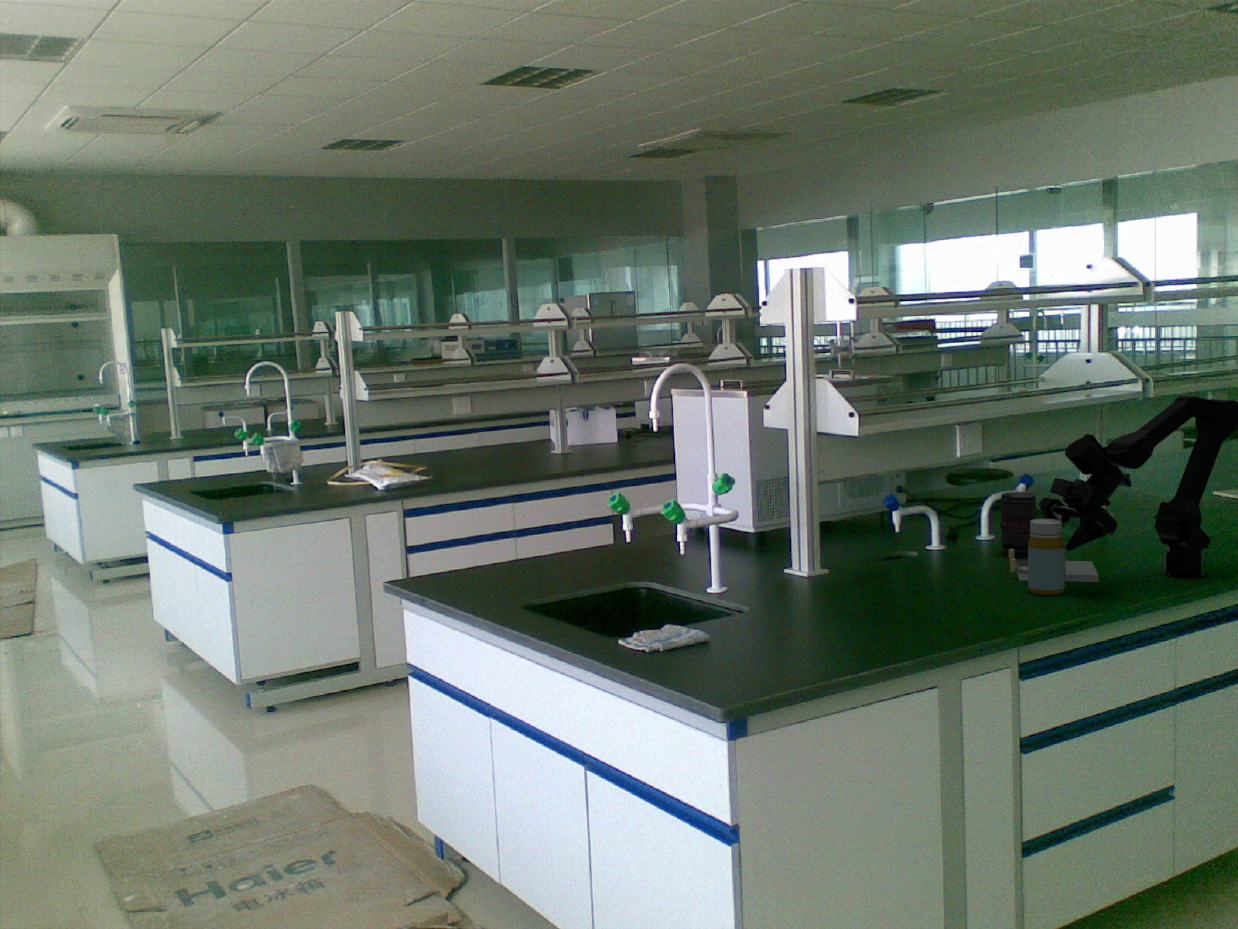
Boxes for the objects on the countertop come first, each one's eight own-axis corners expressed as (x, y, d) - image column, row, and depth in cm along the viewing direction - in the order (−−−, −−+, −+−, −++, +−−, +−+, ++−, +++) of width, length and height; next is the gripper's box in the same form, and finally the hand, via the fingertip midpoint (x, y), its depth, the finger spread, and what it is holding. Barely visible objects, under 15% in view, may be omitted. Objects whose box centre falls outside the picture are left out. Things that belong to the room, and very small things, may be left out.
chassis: (1091, 567, 245) (1091, 548, 245) (1098, 582, 232) (1098, 561, 232) (1008, 566, 251) (1008, 547, 250) (1010, 580, 238) (1010, 560, 237)
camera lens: (1014, 560, 257) (1013, 497, 256) (994, 554, 265) (993, 493, 263) (1043, 556, 259) (1043, 494, 258) (1022, 550, 267) (1022, 490, 265)
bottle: (1055, 587, 230) (1055, 517, 228) (1070, 595, 223) (1070, 523, 221) (1023, 589, 229) (1022, 519, 228) (1037, 597, 223) (1036, 525, 221)
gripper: (1045, 459, 234) (1001, 514, 232) (1105, 468, 216) (1057, 528, 214) (1077, 493, 237) (1033, 547, 235) (1138, 504, 219) (1091, 563, 217)
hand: (1052, 545), depth 225 cm, fingers open, 9 cm apart
